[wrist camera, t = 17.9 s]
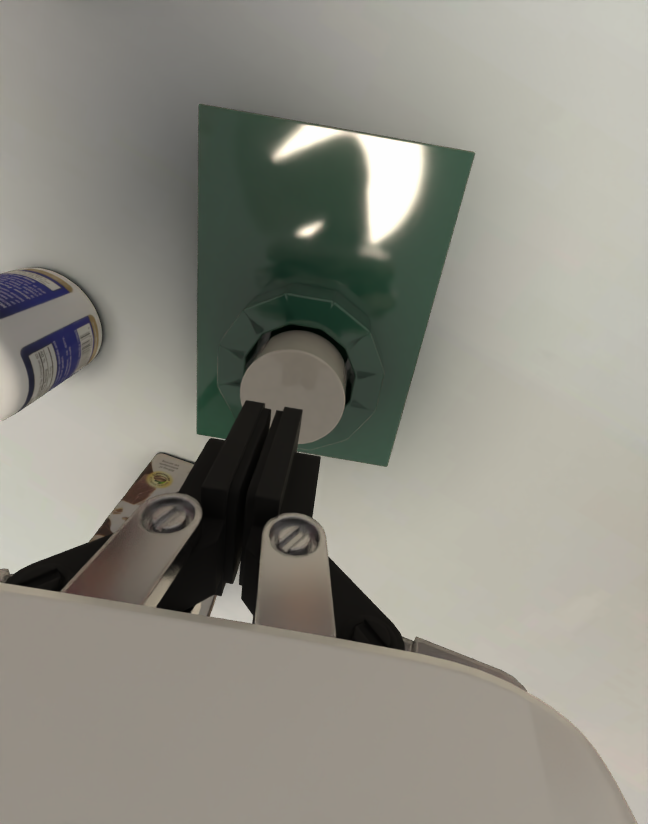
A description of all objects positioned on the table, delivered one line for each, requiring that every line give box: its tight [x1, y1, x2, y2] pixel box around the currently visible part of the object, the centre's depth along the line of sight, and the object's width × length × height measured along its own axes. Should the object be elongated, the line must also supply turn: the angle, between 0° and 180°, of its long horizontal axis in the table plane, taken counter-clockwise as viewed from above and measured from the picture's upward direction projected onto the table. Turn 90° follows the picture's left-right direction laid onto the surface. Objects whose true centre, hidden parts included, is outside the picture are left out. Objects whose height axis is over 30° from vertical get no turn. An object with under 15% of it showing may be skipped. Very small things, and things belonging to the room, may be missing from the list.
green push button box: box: [197, 104, 475, 467], centre depth 18 cm, size 14×10×4 cm
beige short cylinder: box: [240, 330, 347, 444], centre depth 17 cm, size 4×4×2 cm
